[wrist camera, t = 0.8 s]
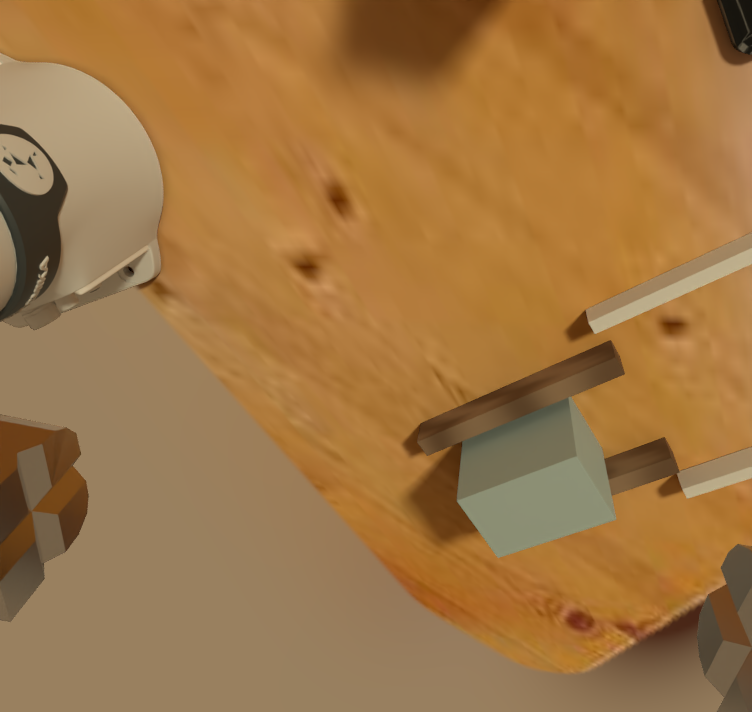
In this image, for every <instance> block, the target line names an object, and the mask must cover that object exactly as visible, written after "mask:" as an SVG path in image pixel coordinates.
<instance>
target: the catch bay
mask: <svg viewBox="0 0 752 712" xmlns="http://www.w3.org/2000/svg"><path fill="white" fill-rule="evenodd" d="M751 264H752V233H749V234H747V235H745V236H743V237H741V238H739V239H737V240H734V241H732V242H730V243H728V244H726V245H724V246H722V247H719V248H717V249H715V250H713V251H711V252H709V253H707V254H704V255H702V256H700V257H698V258H696V259H694V260H691V261H689V262H687V263H685V264H683V265H681V266H679V267H676V268H674V269H672V270H670V271H668V272H666V273H664V274H661V275H659V276H657V277H655V278H653V279H651V280H648V281H646V282H644V283H642V284H640V285H638V286H636V287H633V288H631V289H629V290H627V291H625V292H623V293H621V294H618V295H616V296H614V297H612V298H610V299H608V300H606V301H603V302H601V303H599V304H597V305H595V306H593V307H590V308H588V309H586V315H587V319H588V323H589V325H590V326H591V328H592V330H593V332H594V333H595V334H596V333H598V332H601V331H603V330H605V329H607V328H610V327H612V326H614V325H616V324H619V323H621V322H623V321H625V320H628V319H630V318H632V317H634V316H637V315H639V314H641V313H643V312H645V311H648V310H650V309H652V308H654V307H657V306H659V305H661V304H663V303H666V302H668V301H670V300H672V299H675V298H677V297H679V296H681V295H684V294H686V293H688V292H690V291H692V290H695V289H697V288H699V287H701V286H704V285H706V284H708V283H710V282H713V281H715V280H717V279H719V278H722V277H724V276H726V275H728V274H730V273H733V272H735V271H737V270H739V269H742V268H744V267H746V266H748V265H751ZM679 472H680V473H677V476H678V479H679V482H680V485H681V487H682V490H683V492H684V494H685V495H686V497H687V499H688V498H691V497H694V496H697V495H700V494H703V493H707V492H710V491H713V490H716V489H719V488H722V487H725V486H728V485H731V484H734V483H738V482H741V481H744V480H747V479H750V478H752V447H750V448H747V449H744V450H741V451H738V452H735V453H732V454H729V455H726V456H723V457H720V458H717V459H714V460H711V461H709V462H706V463H703V464H700V465H697V466H694V467H691V468H688V469H685V470H682V471H679Z"/></svg>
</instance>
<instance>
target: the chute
mask: <svg viewBox="0 0 752 712" xmlns="http://www.w3.org/2000/svg"><path fill="white" fill-rule="evenodd" d="M624 374H625V373H624V369H623V366H622V362H621V359H620V356H619V354H618V352H617V351H616V349H615V347H614V345H613V343H612V342H611V340H610V341H608V342H605V343H603V344H601V345H599V346H596V347H594V348H592V349H589V350H587V351H585V352H583V353H580V354H578V355H576V356H573V357H571V358H569V359H567V360H564V361H562V362H560V363H558V364H555V365H553V366H551V367H548V368H546V369H544V370H542V371H539V372H537V373H535V374H532V375H530V376H528V377H526V378H523V379H521V380H519V381H516V382H514V383H512V384H510V385H507V386H505V387H503V388H501V389H498V390H496V391H494V392H491V393H489V394H487V395H485V396H482V397H480V398H478V399H475V400H473V401H471V402H469V403H466V404H464V405H462V406H459V407H457V408H455V409H453V410H450V411H448V412H446V413H444V414H441V415H439V416H437V417H434V418H432V419H430V420H428V421H425V422H423V423H421V425H420V430H419V435H418V440H417V443H418V444H419V445H420V447H421V448H422V450H423V451H424V452H425V454H426V455H427V456H428V455H431V454H433V453H435V452H438V451H440V450H443V449H445V448H447V447H450V446H452V445H455V444H457V443H460V442H462V441H464V440H467V439H469V438H472V437H474V436H476V435H479V434H481V433H484V432H486V431H489V430H491V429H493V428H496V427H498V426H501V425H503V424H506V423H508V422H510V421H513V420H515V419H518V418H520V417H522V416H525V415H527V414H530V413H532V412H535V411H537V410H539V409H542V408H544V407H547V406H549V405H551V404H554V403H556V402H559V401H561V400H564V399H566V398H568V397H571V396H573V395H576V394H578V393H581V392H583V391H585V390H588V389H590V388H593V387H595V386H597V385H600V384H602V383H605V382H607V381H610V380H612V379H614V378H617V377H619V376H622V375H624ZM604 460H605V465H606V470H607V475H608V480H609V485H610V490H611V495H615V494H618V493H621V492H624V491H627V490H630V489H633V488H636V487H639V486H642V485H644V484H647V483H650V482H653V481H656V480H659V479H662V478H665V477H668V476H671V475H674V474H677V473H680V472H679V469H678V466H677V463H676V460H675V457H674V454H673V452H672V450H671V448H670V446H669V444H668V443H667V441H666V439H665V437H664V438H662V439H659V440H656V441H653V442H651V443H648V444H645V445H642V446H640V447H637V448H634V449H631V450H629V451H626V452H623V453H620V454H618V455H615V456H612V457H610V458H607V459H604Z"/></svg>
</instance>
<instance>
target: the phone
mask: <svg viewBox="0 0 752 712" xmlns="http://www.w3.org/2000/svg"><path fill="white" fill-rule="evenodd" d="M717 1H718V4H719V7H720V10H721V13H722V16H723V19H724V22H725V25H726V28H727V31H728V34H729V37H730V40H731V43H732V44H733V46H734V48H736V49H737V50H738V51H740V52H743V53H746V54H752V0H717Z"/></svg>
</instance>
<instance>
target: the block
mask: <svg viewBox="0 0 752 712" xmlns="http://www.w3.org/2000/svg"><path fill="white" fill-rule="evenodd" d="M457 502H458V504H459V505H460V506H461V508H462V509H463V510H464V512H465V513H466V515H467V516H468V517H469V519H470V520H471V521H472V523H473V524H474V525H475V527H476V528H477V530H478V531H479V532H480V534H481V535H482V536H483V538H484V539H485V541H486V542H487V543H488V545H489V546H490V547H491V549H492V550H493V552H494V553H495V554H496V556H497V557H498V558H499V557H502V556H505V555H509V554H512V553H515V552H518V551H521V550H524V549H527V548H530V547H533V546H536V545H539V544H542V543H546V542H549V541H552V540H555V539H558V538H561V537H564V536H567V535H570V534H573V533H576V532H580V531H583V530H586V529H589V528H592V527H595V526H598V525H601V524H604V523H607V522H610V521H614V520H616V515H615V510H614V505H613V500H612V495H611V490H610V485H609V480H608V475H607V470H606V465H605V460H604V455H603V450H602V447H601V446H600V444H599V442H598V441H597V439H596V437H595V436H594V434H593V433H592V431H591V429H590V428H589V426H588V424H587V423H586V421H585V419H584V418H583V416H582V414H581V413H580V411H579V409H578V408H577V406H576V404H575V403H574V401H573V399H572V398H571V397H568V398H566V399H564V400H561V401H559V402H556V403H554V404H551V405H549V406H547V407H544V408H542V409H539V410H537V411H535V412H532V413H530V414H527V415H525V416H522V417H520V418H518V419H515V420H513V421H510V422H508V423H506V424H503V425H501V426H498V427H496V428H493V429H491V430H489V431H486V432H484V433H481V434H479V435H476V436H474V437H472V438H469V439H467V440H464V441H463V442H462V452H461V462H460V472H459V482H458V492H457Z"/></svg>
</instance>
